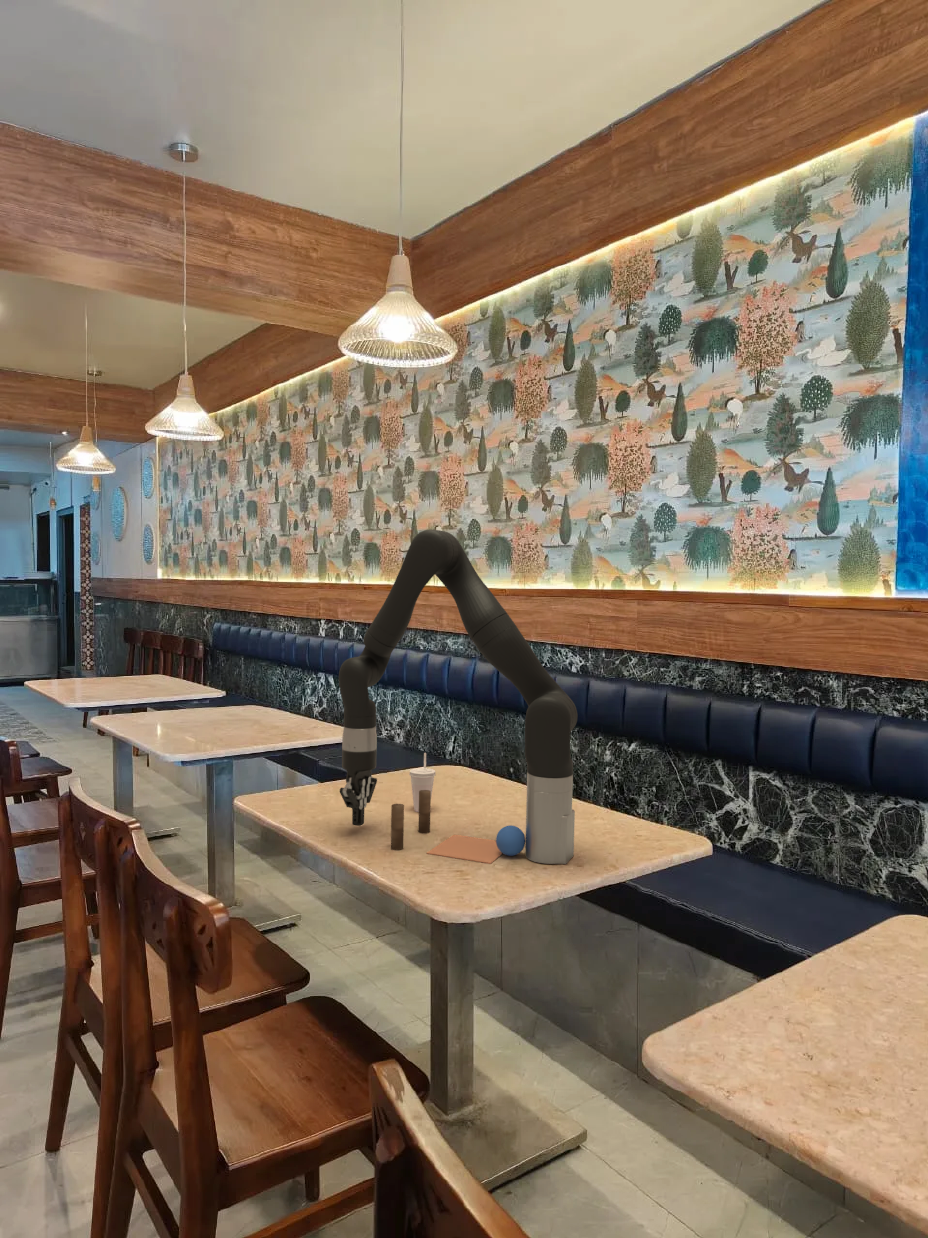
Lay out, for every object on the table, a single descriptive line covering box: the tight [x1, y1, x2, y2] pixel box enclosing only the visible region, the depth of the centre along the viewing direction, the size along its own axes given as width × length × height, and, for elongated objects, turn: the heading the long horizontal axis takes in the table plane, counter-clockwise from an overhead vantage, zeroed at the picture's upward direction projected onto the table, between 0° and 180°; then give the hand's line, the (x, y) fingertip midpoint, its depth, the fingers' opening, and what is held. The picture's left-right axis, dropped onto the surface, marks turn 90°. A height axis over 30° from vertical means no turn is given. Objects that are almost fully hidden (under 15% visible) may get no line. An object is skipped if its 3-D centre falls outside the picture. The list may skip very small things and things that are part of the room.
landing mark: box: [426, 833, 504, 865], centre depth 177 cm, size 14×14×1 cm
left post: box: [390, 803, 405, 851], centre depth 176 cm, size 3×3×9 cm
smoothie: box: [409, 752, 437, 813], centre depth 206 cm, size 6×6×14 cm
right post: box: [417, 790, 432, 834], centre depth 188 cm, size 3×3×9 cm
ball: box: [495, 824, 526, 857], centre depth 174 cm, size 6×6×6 cm
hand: (358, 824), depth 188 cm, fingers closed
